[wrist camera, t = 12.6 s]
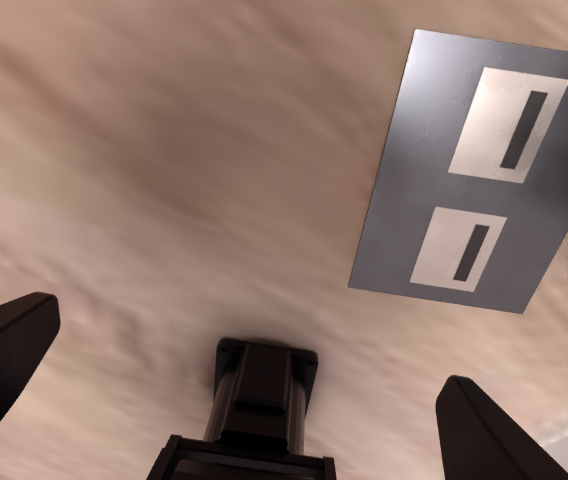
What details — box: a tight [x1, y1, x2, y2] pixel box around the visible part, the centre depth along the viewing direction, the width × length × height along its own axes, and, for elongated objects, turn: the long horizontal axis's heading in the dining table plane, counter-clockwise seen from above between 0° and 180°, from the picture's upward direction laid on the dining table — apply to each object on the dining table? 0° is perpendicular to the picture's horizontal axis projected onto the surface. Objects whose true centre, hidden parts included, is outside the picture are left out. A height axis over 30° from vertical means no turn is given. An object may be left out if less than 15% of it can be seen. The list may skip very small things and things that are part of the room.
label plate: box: [348, 29, 568, 314], centre depth 19 cm, size 13×10×1 cm
